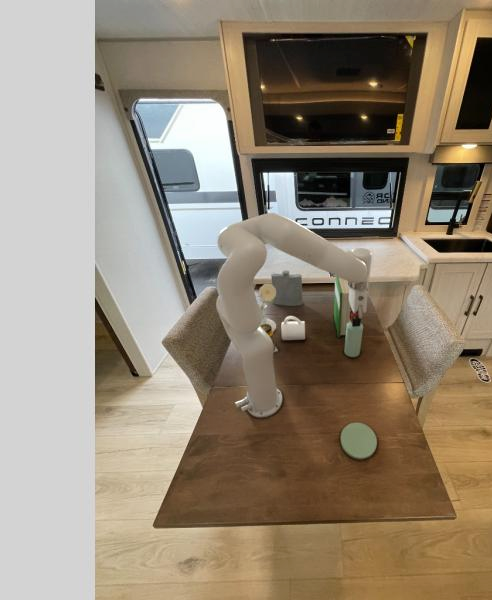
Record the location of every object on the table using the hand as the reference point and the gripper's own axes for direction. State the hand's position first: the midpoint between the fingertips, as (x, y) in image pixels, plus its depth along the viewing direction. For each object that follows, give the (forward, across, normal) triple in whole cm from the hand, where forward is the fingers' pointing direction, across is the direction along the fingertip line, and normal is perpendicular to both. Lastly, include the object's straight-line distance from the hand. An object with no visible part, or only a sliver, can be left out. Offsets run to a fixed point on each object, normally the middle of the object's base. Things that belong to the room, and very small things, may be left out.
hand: (354, 322), depth 106 cm
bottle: (+16, 0, 0) cm, 16 cm away
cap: (0, 0, 0) cm, 0 cm away
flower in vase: (+16, +20, +38) cm, 45 cm away
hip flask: (+16, +41, +26) cm, 52 cm away
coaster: (+16, -39, +7) cm, 43 cm away
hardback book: (+16, +18, 0) cm, 24 cm away
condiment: (+16, +6, +37) cm, 41 cm away
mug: (+16, +12, +25) cm, 32 cm away
